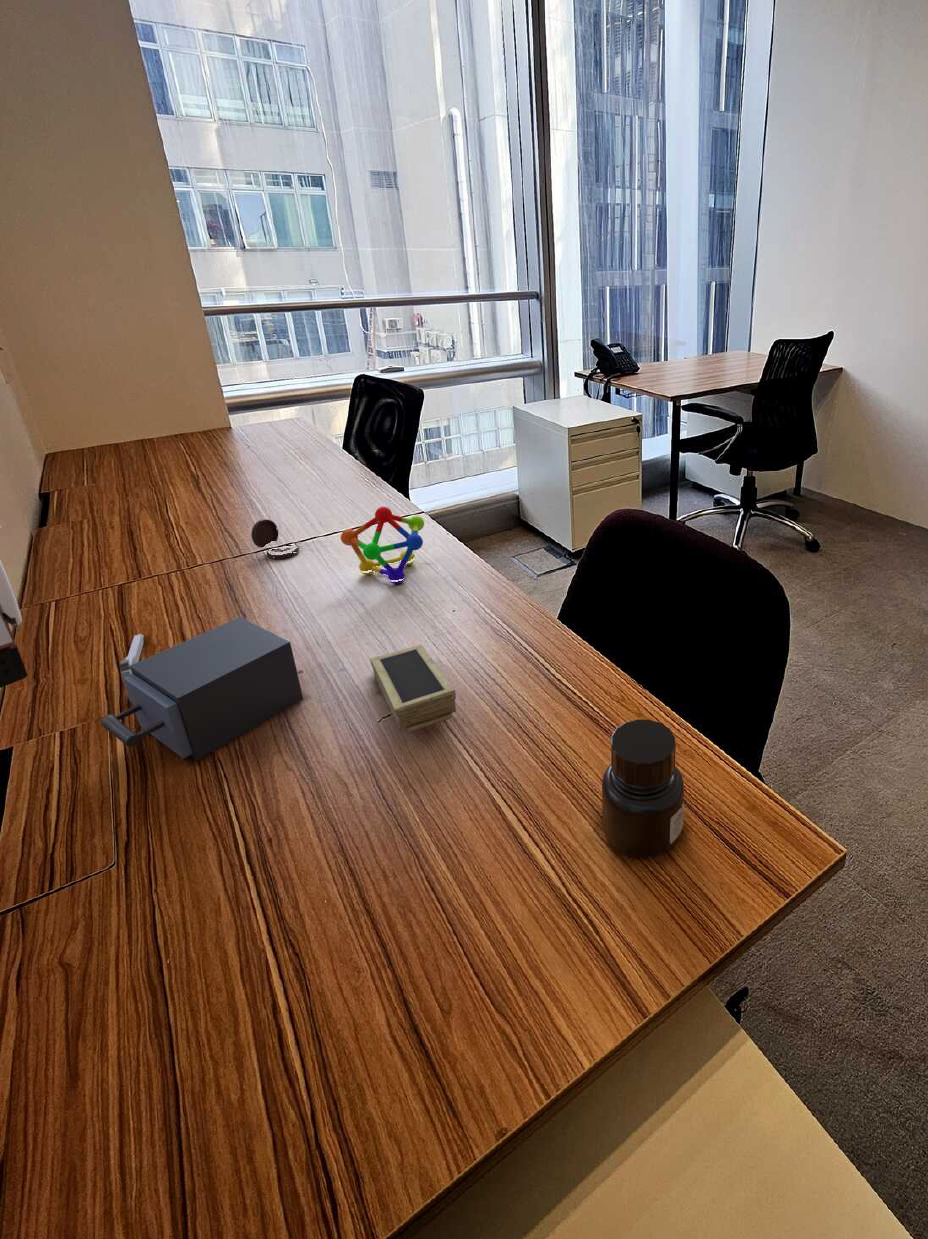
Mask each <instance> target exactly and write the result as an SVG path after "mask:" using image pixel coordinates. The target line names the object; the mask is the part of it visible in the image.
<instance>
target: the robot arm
mask: <svg viewBox="0 0 928 1239" xmlns="http://www.w3.org/2000/svg"><path fill="white" fill-rule="evenodd" d="M1 528H2V525H1V524H0V530H1ZM2 562H3V561H1V559H0V689H1V688H4V687H7V686H9V685H12V684H14V683H17V682H19V681H22V680H24V679H26V678H27V677H28V673H27V672H28V671H27V669H26V667H25V664H24V662H23V659H22V656H21V653H20V650H19V649H18V646H17V644H16V642H15V638H14V636H13V633H12V629H11V627H10V626H12V627H13V628H15V629H17V628H19V627H20V626H21V624H22V623H23V617H22V614H21V611H20V607H19V605H18V602H17V601H18V600H17V599H16V596H15V593H14V590H13V588H12V584H11V583H10V579H9V577H8V575H7V572H6V570H5V567H4V565H3V563H2Z"/></svg>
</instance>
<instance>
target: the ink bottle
mask: <svg viewBox="0 0 928 1239" xmlns="http://www.w3.org/2000/svg"><path fill="white" fill-rule="evenodd" d="M676 750H677V743H676V735H675V734H673V732H672V730H671V728H670V727H668V726H666V725H665V724H663V723H662V722H660V721H656V720H651V719H649V718H646V719H638V718H636V719H634V720H630V721H625V722H624V723H622V724H621V725H619V726H618V727H616V729H615V730H614V732H613V733H612V735H611V737H610V764H609V765H608V766H607V767H606V769H605V770H604V773H603V776H602V780H601V809H602V810H601V811H602V812H601V814H602V829H603V832H604V835H605V838H606V839H607V840H608V842H609V843H610V845H611V846H612V847H613V848H614V849H616V850H617V851H618V852H620V853H621V854H624V855H626V856H629V857H632V858H651V857H655V856H659V855H662V854H664V853H667V852H668V851H669V850H671V849H672V848H673V847H675V845H676V844H677V843H678V842H679V840H680V839H681V836H682V833H683V827H684V826H683V825H684V808H685V807H684V806H685V803H684V802H685V784H684V779H683V776H682V774H681V771H680V770H679V768H678V767H677V765H676V754H677V753H676Z"/></svg>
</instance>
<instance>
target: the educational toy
mask: <svg viewBox="0 0 928 1239" xmlns="http://www.w3.org/2000/svg"><path fill="white" fill-rule="evenodd" d="M398 522H399V523H403V524H406V525H407V526H408V528H409V529H410V530H411V531H410V533H409V532H408V531H407V530H406V529H405V528H403V526H401V525H400V524H399V523H398ZM386 523H388V524H389V526H391V527H392V528H393V529H395V531H397V532H398V533H399V534H400V535H402V537H403V538H404V539H406V540H405V541H400V542H397V543H391V544H387V545H383V546H380V545H379V541H380V539H381V538H380V537H381V535H382V531H383V528H384V525H385V524H386ZM375 524H377V525H376V528H375V532H374V534H373V537H372V541H371V542H370V543H367V544H366V543H365V542H363V541H361V540H360V539H359V535H361V534H362V533H364V532H365V531H366V530H368V529H369V528H371V527H372V526H374V525H375ZM424 527H425V521H424V519H423V517H421V516H419V515H412V516H411V517H410V518H407V517H403V516H400V515H396V514H393V512H392V510H391V509H390V508H389V507H387V506H380V507H378V508H377V509H376V510H375V512H374V517H373V518H372V519H370V520H369V521H366V523H364V524H362V525H361V526H360V527H358V528H356V529H355V530H354V529H351V528H348V529H345V530H343V531H342V532H341V535H340V541H341V543H342V544H344V545H345V546H350V547H351V548H352V549H353V551H354V553H355V555H356V556H357V558H358V560H359V561H360V563H359V565H358V569H360V570H361V571H368V570H372V572H369V573H362V572H361V571H360V570H359V571H360V573H361V574H363V575H365V576H369V575H372V574H374V573H376V572H378V573H377V574H379V573H381V574H380V575H383V574H386V575H388V576H387V579H388V580H389V579H390V580H399V579H403V578H404V576H405V577H406V574H405V571H404V569H405V568H406V566H411V565H413V564H414V563H415V561H416V559H415V560H414V561H413V562H411V563H407V562H408V561H410V560H411V559H413V558H414V557H415V558H416V555H415V553H414V551H418V550H420V549H421V548H422V546H423V544H424V540H423V537H422V536H421V535H419V532H420V531H421V530H423V528H424ZM402 548H406V550H403V551H402V552H400V554H399V556H398V557H394V558H389V559H385V558H384V557H382V556H381V554H382V553H385V552H390V551H394V550H398V549H402ZM361 549H362V550H361ZM374 560H376V562H375V561H374ZM400 560H401V562H399V563H398V566H397V567H393V566H391V564H390V565H389V564H388V563H394V562H397V561H400ZM406 563H407V564H406ZM394 564H395V563H394ZM380 565H382V566H381V567H383V568H381V567H376V566H380ZM405 565H406V566H405ZM404 567H405V568H404ZM373 571H375V572H373ZM386 575H385V576H386ZM404 580H405V578H404V579H403V580H402V581H398V582H391V581H389V582H390V583H391V584H394V585H399V584H401V583H403V582H404Z"/></svg>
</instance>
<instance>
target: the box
mask: <svg viewBox="0 0 928 1239" xmlns="http://www.w3.org/2000/svg"><path fill="white" fill-rule="evenodd" d="M369 661H370V665H371V667H372V672H373V675H374V679H375V681H376V683H377V685H378V687H379V689H380V691H381V693H382V695H383V697H384V700H385V702H386V703H387V706H388V708H389V710H390V712H391V714H392V716H393V719H394V720H395V723H396V724H397V726H398V728H399V730H405V731H406V733H407V734H411V733H413V732H416V731H419V730H422V729H425V728H428V727H431V726H433V725H436V724H440V723H442V722H446V721H448V720H451V719H453V715H452V714H453V713H455V712H457V709H456V708H457V706H456V699H457V694H456V689H454V687H453V685H452V684H451V683H450V682H449V680H448V679H447V677H446V676H445V675H444V674H443V672H442V671H441V669H440V668H439V667H438V665H437V664H436V662H435V661H434V660H433V658H432V657H431V655H430V654H429V653H428V652H427V650H426V649H425V647H424V646H423V644H419V645H414V646H410V647H408V648H404V649H401V650H397V651H393V652H390V653H385V654H381V655H378V656H375V657H371V658H370V659H369Z"/></svg>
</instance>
